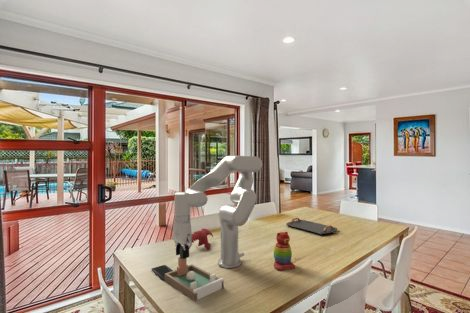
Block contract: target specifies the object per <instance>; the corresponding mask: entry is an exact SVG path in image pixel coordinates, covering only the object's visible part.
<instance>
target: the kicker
mask: <svg viewBox="0 0 470 313" xmlns="http://www.w3.org/2000/svg"><path fill="white" fill-rule="evenodd" d="M183 250H184V249H183V245H182V246H181V247H180V255H179V257H177V258H178V259H177V260H178V263H177V264H178V265H177V266H176V270H177V276H182V275H185V274H187V273H188V264H187V260H188V259H187V258H185V259H183Z"/></svg>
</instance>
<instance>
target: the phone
mask: <svg viewBox="0 0 470 313" xmlns="http://www.w3.org/2000/svg"><path fill="white" fill-rule="evenodd" d="M151 270H152V271H153V272H154V273H155V274H154V273H153V272H152V271H151V272H152V273H153V274H154V275H156V276H157V277H158V278H159V279H160V280H161V279H162V281H163V282H164V281H165V279H164V274H165V273H168V272H171V271H174V270H173V269H171V267H169V266H168V265H166V264H163V265H158V266H155V267H152V268H151ZM165 282H166V281H165Z"/></svg>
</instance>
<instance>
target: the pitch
mask: <svg viewBox="0 0 470 313" xmlns="http://www.w3.org/2000/svg"><path fill="white" fill-rule="evenodd" d="M187 265H188V264H187ZM189 271H193V272H194V273H195V278H194V279H193V280H191V281H190V280H188V279H187V277H186V275H187V274H185V275H182V276H177V269H175V270H173V271H171V272H168V273H165V274H164V279H165V282H166V283H168V284H169V285H171V286H172V287H174V288H175V289H176V290H178V291H179V292H181V293H183V294H184V295H185V296H186V297H187V298H189V299H191V300H192V301H194V302H196V301H198V300H200V299H203V298H204V297H207V296H209V295H211V294H213V293H215V292H217V291H219V290H221V289H223V288H225V287H224V286H225V285H224V283H225V282H224V281H225V279H224V277H220V278H219V277H217V274H216V273H215V272H214V273H212V274H211V273H209V272H208V271H206V270H204V269H202V268H200V267H199V266H196V265H195V264H189V265H188V272H189Z"/></svg>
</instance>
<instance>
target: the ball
mask: <svg viewBox="0 0 470 313" xmlns="http://www.w3.org/2000/svg"><path fill="white" fill-rule="evenodd" d="M186 277H187V279H188V280H190V281H191V280H193V279H194V278H195V273H194V272H193V271H189V272H188V273H187V275H186Z"/></svg>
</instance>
